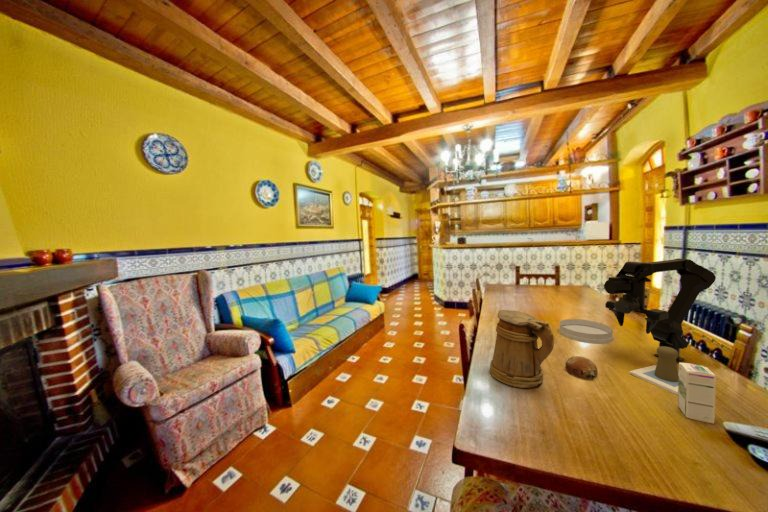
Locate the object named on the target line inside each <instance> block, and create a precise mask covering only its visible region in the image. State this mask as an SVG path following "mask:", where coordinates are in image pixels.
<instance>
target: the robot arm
mask: <svg viewBox="0 0 768 512" xmlns="http://www.w3.org/2000/svg"><path fill="white" fill-rule="evenodd" d="M670 271H676V273H677V274H678V275H679V276H680V278H679V283H680V285H681V286H680V287H681V288H680V289H679V290H678V291H679V292H678V294H677V295H676V297H675V298H674V300H673V302H672V303H671V305H670V307H669V308H668V310H667V311H666V310H664V309H658V308H652V309H647V308H648V305H646V304H645V303H646V302H645V301H646V299H648V295H646V283H650V282H652V280H651V279H650V278H648V277H650V276H652V275H653V274H655V273H661V272H670ZM716 280H717V277H716V275H715V274H714V272H713V271H711V270H709V269H708V268H706V267H704V266H702V265H699V264H697V263H696V262H695V261H693V260H691V259H689V258H674V259H668V260H667V259H666V260H660V261H649V262H643V261H626V262H625V263H624V264H623V266H622V267H621V269H620V270H619V271H618V272H617V274H616V275H615V277H613V276H609V277H608V280H606V281H605V282H604V284H603V287H604V290H605V292H606V293H607V294H609V295H616V294H619V295H620V294H622V296H621V297H622V298H621V299H618V300H616V299H613V300H608V301H606V302H605V304H604V305H605V306H604V307H605V308H606V309H608V311H611V312H612V313H613V314H614V316H615V318H616V319H617V320H616V321H617V322H618V325H619V326H620V327H622V326H623V327H624V322H625V321H624V320H625V316H626V315H625V314H630V313H631V312H634V313H639V314H643V315H645V316H646V317H644V320H645V323H646V325H645V334H647V335H648V334H651V336H652V338H653V340H654V341H656V342H658V343H659V345H658V347H661V346H665V347H670V348H673V349H675V350H677V352H678V357H677V358H676V363H679V362H681V361H685V358H683V357H680V356H681V355H680V352H681V351H680V350H684V349H686V348H688V345H689V342H688V341H687V340H686V339H685V338H684V337H682V336H683V334H684V331H683V325H682V323H683V322H684V320H685V318H686V316H687V315H688V313H689V311H690V309H691V308H692V306H693V304H694V303H695V301H696V299H697V298H698V296H699V295H700V293H701V292H703V291H706V290H708V289H710V287H711V286H712V285H713V284H714V283H715V281H716ZM653 355H654V356H655V357H656V358H658V357H659V355H658V353H655V354H653Z"/></svg>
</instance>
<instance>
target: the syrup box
mask: <svg viewBox="0 0 768 512" xmlns="http://www.w3.org/2000/svg"><path fill="white" fill-rule="evenodd" d="M678 373H679V380H678V395H677V407H678V409H679V410H680V411H681V413H682V414H683V415H684V417H685V418H687V419H692V420H694V421H699V422H703V423H709V424H712V425H713V424H715V415H716V389H717V387H716V386H717V385H716V384H717V382H716V380H717V376H716V373H713V372H712V370H710V368H708V367H707V366H706V365H702V364H695V363H689V362H681V361H678Z"/></svg>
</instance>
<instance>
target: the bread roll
mask: <svg viewBox="0 0 768 512" xmlns="http://www.w3.org/2000/svg"><path fill="white" fill-rule="evenodd" d="M565 369H566V371H567V372H568V373H569V374H570V375H572V376H574V377H576V378H579V379H584V380H594V378H596V377H597V376H598V374H599V372H598V367H597V365H596V364H595V362H594V361H592V360H591V359H589V358H587V357H585V356H581V355H580V356H578V355H574V356H573V355H572V356H570V357H568V359H567V360H566V361H565Z"/></svg>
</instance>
